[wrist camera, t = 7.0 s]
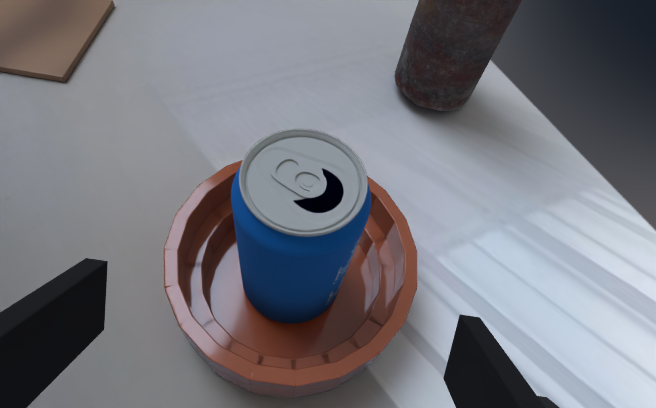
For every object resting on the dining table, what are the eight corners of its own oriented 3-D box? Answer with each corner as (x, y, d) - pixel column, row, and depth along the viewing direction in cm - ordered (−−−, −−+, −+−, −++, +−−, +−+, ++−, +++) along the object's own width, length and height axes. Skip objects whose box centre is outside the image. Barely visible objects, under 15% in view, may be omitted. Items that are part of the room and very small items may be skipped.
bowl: (147, 379, 25) (123, 362, 20) (211, 178, 32) (203, 135, 28) (392, 413, 25) (417, 403, 21) (397, 207, 33) (416, 170, 29)
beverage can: (301, 347, 26) (323, 275, 16) (222, 288, 28) (195, 186, 17) (356, 270, 29) (403, 168, 19) (282, 220, 31) (290, 100, 21)
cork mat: (-69, 60, 35) (-74, 54, 35) (0, -15, 41) (-3, -21, 40) (65, 82, 36) (62, 77, 35) (114, 5, 41) (112, 0, 41)
